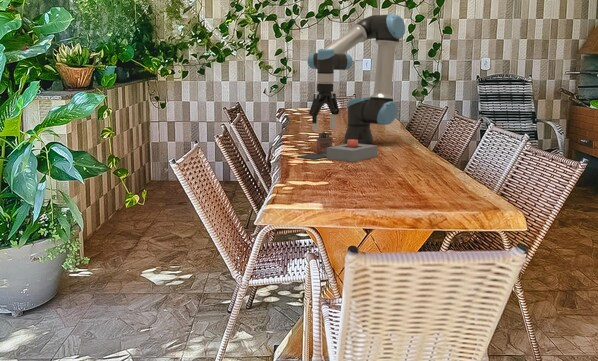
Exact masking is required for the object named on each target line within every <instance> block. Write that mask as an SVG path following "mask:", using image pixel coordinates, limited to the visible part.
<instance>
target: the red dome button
mask: <svg viewBox="0 0 598 361" xmlns="http://www.w3.org/2000/svg"><path fill="white" fill-rule="evenodd" d="M346 144H347V147H348V148H358V140H356V139H348V140H347V143H346Z"/></svg>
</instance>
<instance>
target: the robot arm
mask: <svg viewBox="0 0 598 361" xmlns="http://www.w3.org/2000/svg"><path fill="white" fill-rule="evenodd" d="M405 34H406V24H405V22H404V19H403V18H402V16H400V15H398V14H391V13H390V14H373V15H370V16H368V17H367V16H366V17H364V18H363V19H361V20H360V21H358V22H356V23H355V24H353V25H352V26H351V29H350V30H348V31H347V32H346V33H344V34H343V35H341V36H339V38H337V39H335V41H333V42H332V43H330V44H329V45H328V46H326V47H325V48H319V49H318V50H317V52H312V53H310V54H309V55H308V57H307V65H308V67H309V68H311V69H313V70H317V76H316V81H317V84H316V91H317V92H318V93H314V94H313V100H312V103H311V106H310V110H309V115H310V117H312V118H311V121H312V128H311V129H312V131H313V132H314V131H315V132H317V131H319V113H320V111H321V109H322V106H324V105H325V104H326V105H327V107H328V109H329V112H330V113H331V114H330V116H329V118H330V119H329V121H330V122H329V129H333V130H336V129H337V128H336V127H337V126H336V123H337V115H339V113H340V108H339V104H338V101H337V94H336V93H333V92H334V81H335V80H334V79H335V78H334V75H335V71H345V70H346V71H347V70H349V69H351V67H352V66H353V63H354V62H353V60H354V59H353V57H352V56H351V54H349V53H347V52H348V51H350V50H351V49H352V48H354V47H356V45H358V44H360V43H364V42H366V41H368V40H373V39H374V40H375V43H376V44H377V52H376V53H377V54H376V55H377V56H376V63H375V64H376V66H375V74H374V76H375V77H374V86H373V93H372V94H371V95H370V96H369V97H368V96H367V97H358V98H350V99H349V100H348V102H347V128H346V131H345V134H344V138H343V143H344V144H347V140H348V139H356V140H358V144H367V145H372V144H373V143H374V136H373V133H372V129H371V124H373V125H380V126H383V125H385V126H386V125H390V124H392V123H393V122H394V120H396V117H397V116H398V106H397V104H396V102H394V97H393V96H392V86H393V76H394V75H393V74H394V67H395V66H394V65H395V54H396V46H397V45H399V44H400V39H402V38H403V37H404V35H405Z"/></svg>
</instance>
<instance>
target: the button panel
mask: <svg viewBox="0 0 598 361" xmlns="http://www.w3.org/2000/svg"><path fill="white" fill-rule="evenodd" d="M378 148H379V146H378V145H374V144H358V148H348V147H347V143H344V144H339V145H333V147H327V154H326V155H327V158H326V160H333V161H339V162H340V161H341V162H348V163H355V162H359V161H364V160H368V159H374V158H377V157H379V153H378V152H379V149H378Z"/></svg>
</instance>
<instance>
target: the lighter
mask: <svg viewBox="0 0 598 361" xmlns="http://www.w3.org/2000/svg"><path fill="white" fill-rule="evenodd" d="M315 139H316V150H315V154H323V155H327V147H333V146H334V145H333V140H334V137H333V136H332V132H331V131H329V132H328V131H326V132H325V131H322V132H318V137H315Z"/></svg>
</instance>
